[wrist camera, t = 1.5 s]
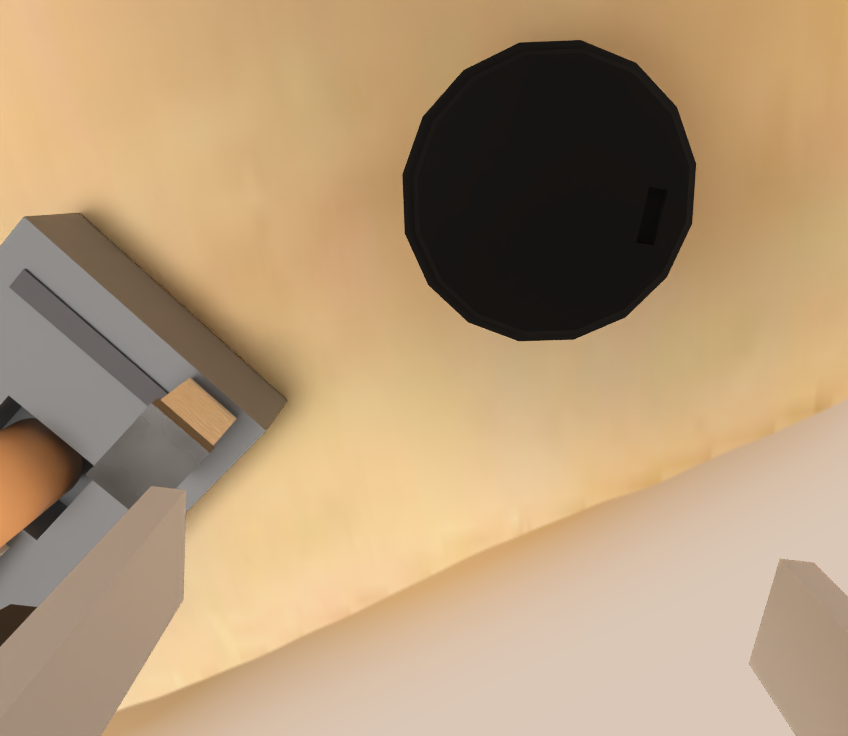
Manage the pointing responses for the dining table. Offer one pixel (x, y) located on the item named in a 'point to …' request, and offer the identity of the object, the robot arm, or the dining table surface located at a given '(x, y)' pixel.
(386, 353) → the dining table surface
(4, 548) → the rocker
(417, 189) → the coffee cup
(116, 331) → the console
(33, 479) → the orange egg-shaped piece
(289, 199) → the dining table surface
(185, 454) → the fader
